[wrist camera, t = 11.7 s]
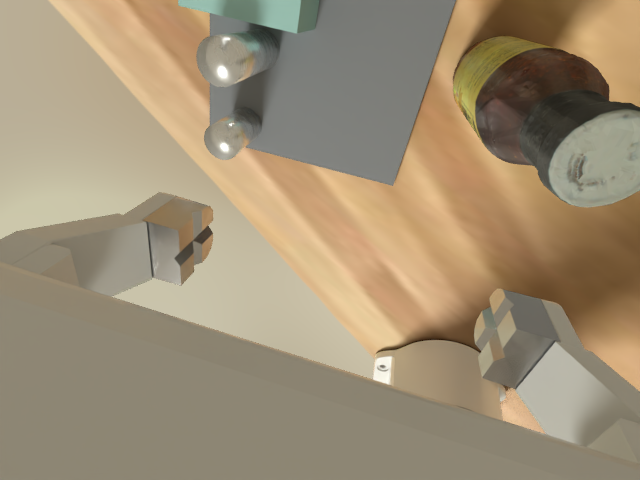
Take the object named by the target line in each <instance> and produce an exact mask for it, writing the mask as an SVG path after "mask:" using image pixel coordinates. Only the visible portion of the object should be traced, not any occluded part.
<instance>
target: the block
mask: <svg viewBox="0 0 640 480" xmlns="http://www.w3.org/2000/svg"><path fill="white" fill-rule="evenodd" d="M178 3H179V6H182V7H187V8H191V9H195V10H199V11H204V12H208V13H212V14H216V15H220V16H225V17H229V18H233V19H237V20H241V21H246V22H250V23H254V24H258V25H263V26H267V27H271V28H275V29H279V30H284V31H288V32H292V33H296V34H298V33H302V32H306V31H310V30H314V29H315V26H316V20H317V13H318V7H319V0H178Z"/></svg>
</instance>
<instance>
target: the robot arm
mask: <svg viewBox="0 0 640 480" xmlns="http://www.w3.org/2000/svg"><path fill="white" fill-rule="evenodd" d="M212 221H213V210H212V208H211V207H210V206H207V205H204V204H201V203H198V202H194V201H191V200H188V199H184V198H181V197H178V196H174V195H171V194H167V193H162V192H159V193H157V194H156V195H154V196H153V197H151V198H149V199H148V200H146V201H145V202H143V203H142V204H140V205H138V206H137V207H135V208H134V209H132V210H131V211H129V212H127V213H126V214H124V215H121V214H113V215H108V216H102V217H96V218H90V219H84V220H78V221H73V222H67V223H62V224H55V225H50V226H44V227H38V228H32V229H27V230H22V231H16V232H14V233H12V234H10V235H8V236H6V237H4V238H2V239H0V480H640V392H639V391H638V390H637V389H636V388H635V387H633V386H632V385H631V384H630V383H629V382H627V381H626V380H625V379H624V378H623V377H621V376H620V375H619V374H618V373H617V372H615V371H614V370H613V369H612V368H611V367H609V366H608V365H607V364H606V363H605V362H603V361H602V360H601V359H600V358H599V357H597V356H596V355H595V354H594V353H593V352H591V351H588V350H585V349H584V347H583V345H582V343H581V341H580V340H579V338H578V336H577V334H576V332H575V330H574V328H573V327H572V325H571V323H570V321H569V319H568V317H567V315H566V314H565V312H564V310H563V308H562V306H560V305H559V304H558V303H555V302H551V301H547V300H543V299H539V298H534V297H530V296H527V295H523V294H519V293H515V292H511V291H507V290H503V289H499V288H497V289H496V290H495V291H494V292H493V293H492V295H491V297H490V298H489V301H490V305H491V307H489V308H487V309H485V310H483V311H481V313H480V315H479V317H478V319H477V321H476V325H475V329H474V339H475V344H476V346H477V347H478V348H479V349H480V350H481V351H482V352H481V353H479V352H478V351H476V350H475V349H473V348H471V347H468V346H466V345H463V344H460V343H456V342H452V341H445V340H426V341H420V342H416V343H412V344H409V345H407V346H405V347H402V348H400V349H397V350H389V351H382V352H378V353H377V354H376V355H375V361H374V369H373V378H372V379H370V378H366V377H363V376H360V375H357V374H354V373H350V372H347V371H344V370H341V369H338V368H335V367H331V366H328V365H325V364H322V363H319V362H316V361H312V360H309V359H306V358H303V357H300V356H297V355H293V354H290V353H287V352H284V351H281V350H277V349H274V348H271V347H268V346H265V345H261V344H259V343H255V342H252V341H249V340H246V339H243V338H240V337H236V336H233V335H230V334H227V333H224V332H221V331H218V330H214V329H211V328H208V327H205V326H202V325H199V324H195V323H192V322H189V321H186V320H183V319H180V318H177V317H173V316H170V315H167V314H164V313H161V312H158V311H154V310H151V309H148V308H145V307H142V306H139V305H135V304H132V303H129V302H126V301H123V300H120V299H116V298H113V297H112V296H114V295H117V294H119V293H121V292H124V291H126V290H128V289H131V288H133V287H135V286H138V285H140V284H142V283H145V282H147V281H149V280H151V279H152V278H156V279H160V280H163V281H167V282H170V283H174V284H177V285H182V284H183V283H184V282H185V281H186V280H187V279H188V277H189V276H190V275H191V274H192V273H193V272H194V265H196V264H199V263H202V262H203V261H204V259H205V258H206V257H207V256H208V254H209V251H210V249H211V246H212V241H213V233H212V231H211V229H210V228H209V226H208V225H209V224H210V223H211V222H212ZM503 385H504V386H507V387H510V388H513V389H516V390H515V391H516V393H517V394H518V395H519V397H520V398H521V399H522V401H523V402H524V404H525V405H526V406H527V408H528V409H529V411H530V412H531V413H532V415H533V416H534V418H535V419H536V420H537V422H538V423H539V425H540V426H541V427H542V429H543V430H544V431H545V433H546V434H547V435H546V434H543V433H540V432H537V431H534V430H530V429H527V428H524V427H521V426H518V425H515V424H511V423H508V422H505V421H503V417H502V410H501V403H500V402H501V401H503V400H504V399H505V398H506V390H505V388H504V386H503Z"/></svg>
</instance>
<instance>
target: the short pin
mask: <svg viewBox="0 0 640 480" xmlns="http://www.w3.org/2000/svg"><path fill="white" fill-rule="evenodd" d="M261 130H262V123H261V119H260V117H259V116H258V114H257V113H256V112H255V111H254V110H252V109H250V108H246V107H243V108H239V109H237V110H236V111H234V112H232V113H231V114H229V115H227V116H226V117H224V118H222V119H221V120H219V121H217V122H216V123H214V124H212V125H211V126H209V127H208V128H207V129H206V131H205V135H204V141H205V145H206V147H207V149H208V150H209V152H210V153H211V154H212V155H214V156H215V157H217V158H219V159H222V160H228V159H231V158H233V157H234V156H235V155H237V154H238V153H239V152H240V151H241V150H242V149H244V148H245V147H246V146H247V145H248V144H249V143H251V142H252V141H253V140H254V139H255V138H256V137H258V136H259V134H260V133H261Z"/></svg>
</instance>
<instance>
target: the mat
mask: <svg viewBox="0 0 640 480" xmlns="http://www.w3.org/2000/svg"><path fill="white" fill-rule="evenodd" d="M455 1H456V0H319V7H318V13H317V20H316V26H315V29H314V30H310V31H306V32H302V33H298V34H296V33H292V32H288V31H284V30H279V29H275V28H271V27H267V26H263V25H258V24H254V23H250V22H246V21H241V20H237V19H233V18H229V17H225V16H220V15H216V14H212V13H210V36H216V35H222V34H229V33H236V32H243V31H249V30H256V29H264V30H267V31H269V32H270V33H271V34H272V35H273V36H274V37H275V38H276V40H277V42H278V45H279V57H278V60H277V62H276V63H275V65H274V66H272V67H271V68H269V69H267V70H264V71H262V72H260V73H258V74H255V75H253V76H251V77H249V78H246V79H244V80H242V81H239V82H237V83H235V84H233V85H230V86H228V87H217V86H214V85H212V84H211V83H210V126H211V125H212V124H214V123H216V122H217V121H219V120H221V119H222V118H224V117H226V116H227V115H229V114H231V113H232V112H234V111H236V110H237V109H239V108H243V107H246V108H250V109H252V110H254V111H255V112H256V113H257V114H258V116H259V117H260V119H261V123H262V130H261V133H260V134H259V136H258V137H256V138H255V139H254V140H253V141H252V142H251V143H249V144H248V145H247V146H246V147H247V148H251V149H254V150H258V151H262V152H266V153H270V154H274V155H277V156H281V157H285V158H289V159H293V160H297V161H300V162H304V163H308V164H312V165H316V166H319V167H323V168H327V169H331V170H335V171H339V172H342V173H346V174H350V175H354V176H358V177H362V178H365V179H369V180H373V181H377V182H381V183H384V184H388V185H392V186H393V184H394V181H395V178H396V175H397V172H398V169H399V166H400V163H401V160H402V158H403V155H404V152H405V149H406V146H407V143H408V140H409V137H410V134H411V131H412V128H413V125H414V122H415V119H416V116H417V113H418V110H419V107H420V104H421V102H422V99H423V96H424V93H425V90H426V87H427V84H428V81H429V78H430V75H431V72H432V69H433V66H434V63H435V60H436V57H437V54H438V51H439V48H440V45H441V43H442V40H443V37H444V34H445V31H446V28H447V25H448V22H449V19H450V16H451V13H452V10H453V7H454V4H455Z"/></svg>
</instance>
